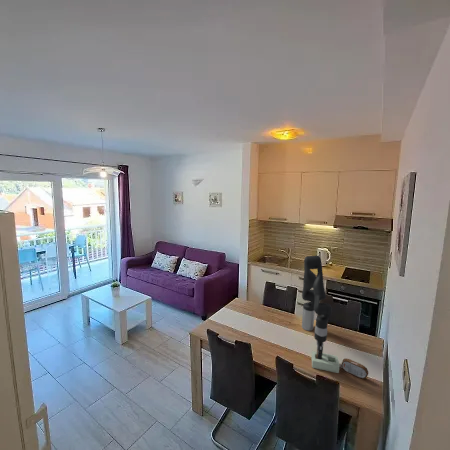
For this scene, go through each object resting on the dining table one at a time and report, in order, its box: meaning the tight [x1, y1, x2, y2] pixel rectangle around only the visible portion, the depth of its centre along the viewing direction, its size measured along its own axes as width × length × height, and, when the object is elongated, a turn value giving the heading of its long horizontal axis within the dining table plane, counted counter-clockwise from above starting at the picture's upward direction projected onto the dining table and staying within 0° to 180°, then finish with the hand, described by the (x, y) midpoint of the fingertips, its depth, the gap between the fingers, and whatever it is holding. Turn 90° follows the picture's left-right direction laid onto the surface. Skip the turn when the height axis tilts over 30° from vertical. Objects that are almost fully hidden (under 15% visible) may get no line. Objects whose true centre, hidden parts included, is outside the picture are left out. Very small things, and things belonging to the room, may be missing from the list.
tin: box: [341, 358, 369, 380], centre depth 157 cm, size 15×3×8 cm, turn 50°
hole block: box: [311, 350, 340, 374], centre depth 165 cm, size 10×16×5 cm, turn 73°
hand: (318, 354), depth 165 cm, fingers open, 8 cm apart
